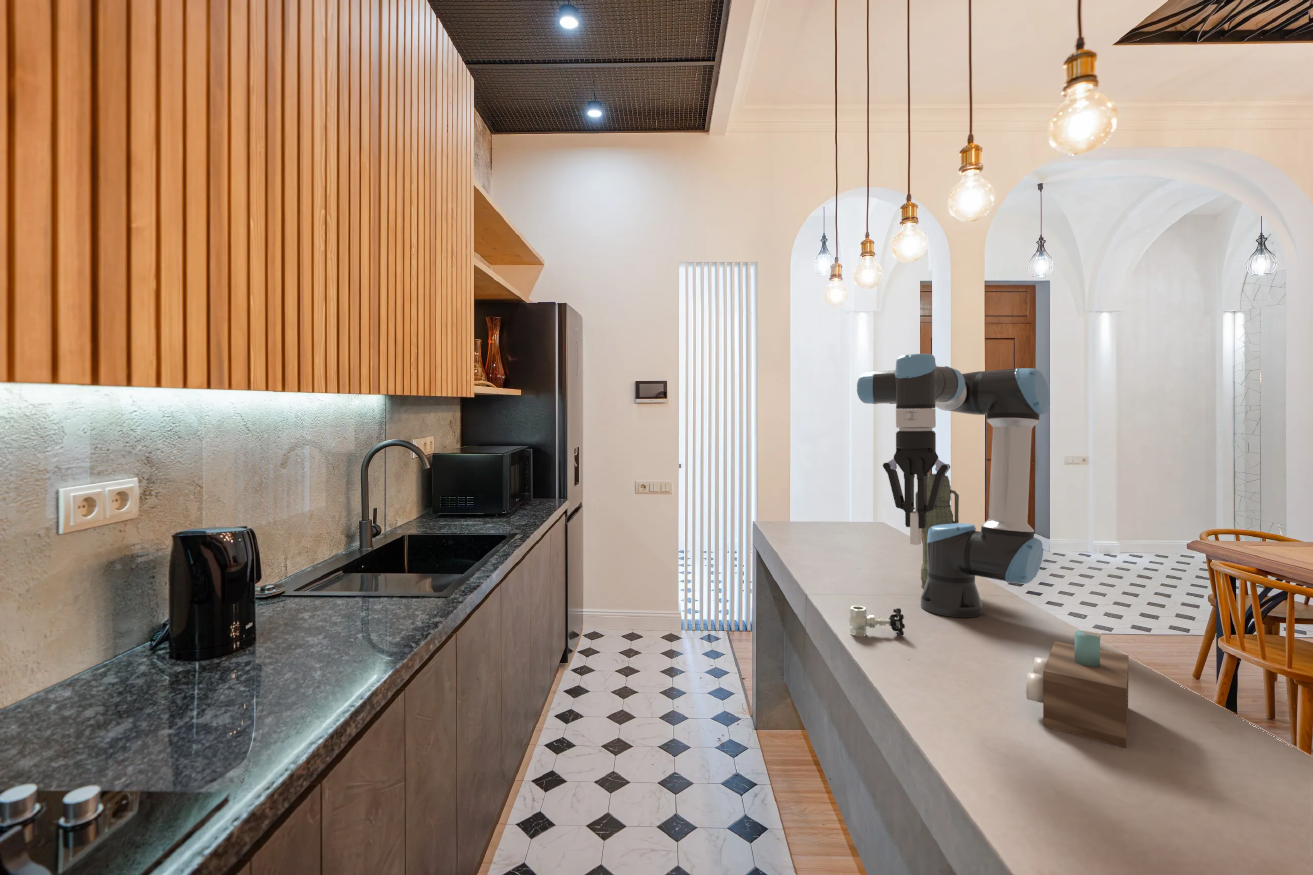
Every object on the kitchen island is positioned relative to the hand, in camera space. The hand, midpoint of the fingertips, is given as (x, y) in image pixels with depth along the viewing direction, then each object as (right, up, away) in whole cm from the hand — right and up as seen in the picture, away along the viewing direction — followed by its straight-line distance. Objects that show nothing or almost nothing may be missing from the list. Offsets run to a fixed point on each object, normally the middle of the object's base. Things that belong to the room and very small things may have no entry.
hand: (916, 543), depth 123 cm
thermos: (+32, -24, +58) cm, 70 cm away
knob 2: (+17, -24, -22) cm, 37 cm away
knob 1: (+22, -24, -15) cm, 36 cm away
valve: (-1, -26, +21) cm, 33 cm away
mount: (+21, -27, -20) cm, 39 cm away
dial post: (+21, -17, -20) cm, 34 cm away
